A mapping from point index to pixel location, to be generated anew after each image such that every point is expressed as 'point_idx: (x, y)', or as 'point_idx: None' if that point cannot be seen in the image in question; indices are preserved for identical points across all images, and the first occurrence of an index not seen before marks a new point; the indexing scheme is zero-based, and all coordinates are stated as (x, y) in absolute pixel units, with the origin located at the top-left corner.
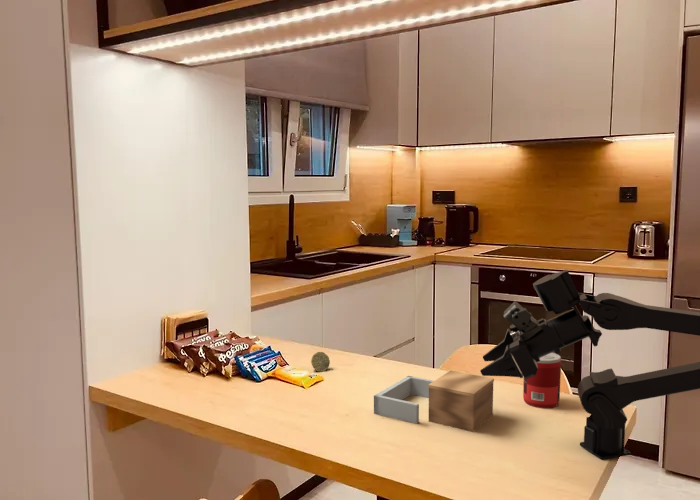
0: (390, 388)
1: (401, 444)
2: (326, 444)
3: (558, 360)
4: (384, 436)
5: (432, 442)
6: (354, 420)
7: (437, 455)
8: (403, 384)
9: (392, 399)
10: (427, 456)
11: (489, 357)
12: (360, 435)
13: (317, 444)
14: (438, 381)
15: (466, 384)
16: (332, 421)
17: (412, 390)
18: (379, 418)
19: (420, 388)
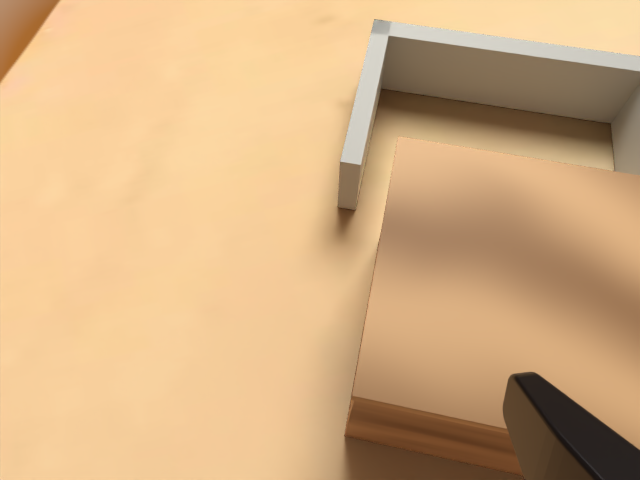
0: (476, 43)
1: (145, 206)
2: (101, 37)
3: None
4: (195, 145)
5: (187, 297)
6: (290, 45)
7: (74, 340)
8: (571, 70)
9: (366, 75)
10: (60, 308)
11: (534, 461)
12: (184, 88)
13: (97, 21)
14: (474, 167)
15: (507, 316)
16: (261, 5)
17: (618, 117)
18: (335, 96)
19: (630, 135)
